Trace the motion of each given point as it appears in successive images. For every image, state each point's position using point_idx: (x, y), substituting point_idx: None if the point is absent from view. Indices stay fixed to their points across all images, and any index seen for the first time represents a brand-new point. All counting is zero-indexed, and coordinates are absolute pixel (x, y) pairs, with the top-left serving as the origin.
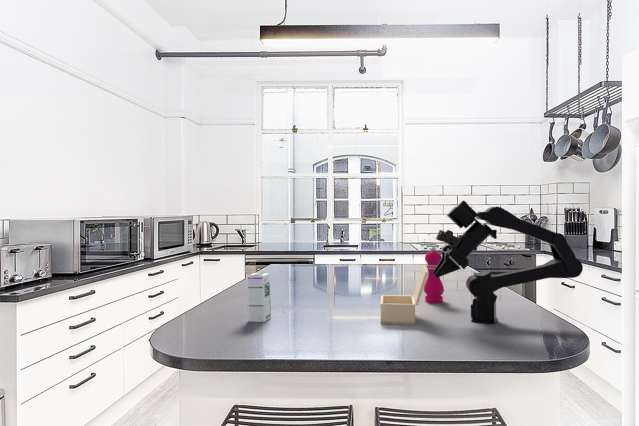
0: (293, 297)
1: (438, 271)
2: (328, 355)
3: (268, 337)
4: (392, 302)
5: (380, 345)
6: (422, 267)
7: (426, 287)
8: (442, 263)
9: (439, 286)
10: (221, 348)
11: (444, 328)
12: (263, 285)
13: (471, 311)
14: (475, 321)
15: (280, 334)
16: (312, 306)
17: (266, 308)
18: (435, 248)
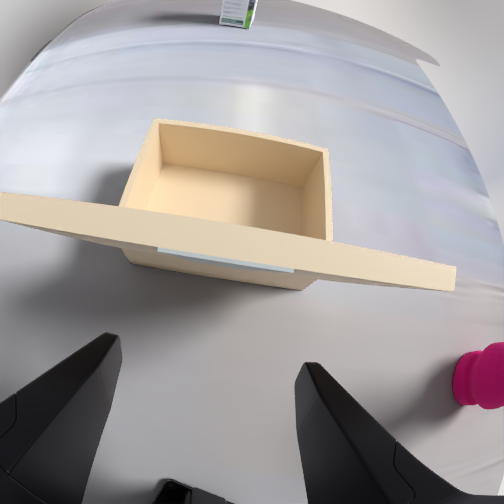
0: (415, 84)
1: (63, 366)
2: (9, 99)
3: (123, 33)
4: (313, 197)
5: (4, 158)
6: (414, 260)
7: (495, 350)
8: (353, 497)
9: (493, 396)
10: (98, 20)
11: None
12: None
13: (191, 499)
14: (162, 488)
15: (134, 38)
16: (356, 81)
17: (228, 8)
18: None
